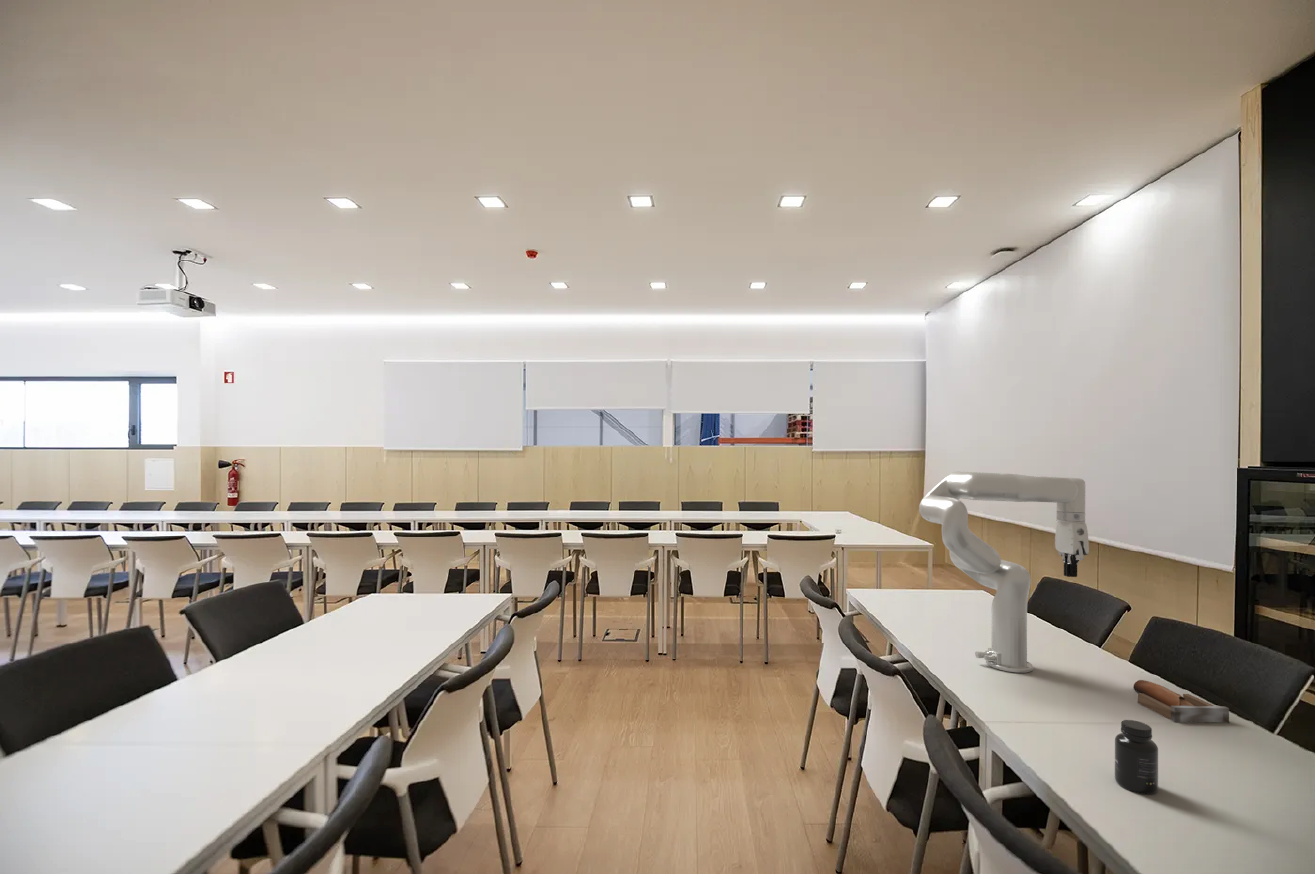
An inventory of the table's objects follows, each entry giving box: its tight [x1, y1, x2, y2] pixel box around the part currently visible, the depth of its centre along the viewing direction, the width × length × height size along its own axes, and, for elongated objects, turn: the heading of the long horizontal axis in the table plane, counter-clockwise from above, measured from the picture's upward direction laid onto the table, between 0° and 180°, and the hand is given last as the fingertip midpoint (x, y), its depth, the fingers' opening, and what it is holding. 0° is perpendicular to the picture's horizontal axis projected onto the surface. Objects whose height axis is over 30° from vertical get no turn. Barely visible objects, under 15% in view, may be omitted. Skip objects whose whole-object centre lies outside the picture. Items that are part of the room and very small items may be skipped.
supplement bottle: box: [1114, 719, 1159, 795], centre depth 124 cm, size 7×7×12 cm
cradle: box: [1137, 692, 1230, 723], centre depth 160 cm, size 13×12×4 cm
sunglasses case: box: [1133, 679, 1194, 707], centre depth 165 cm, size 18×7×7 cm, turn 173°
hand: (1070, 576), depth 197 cm, fingers closed
